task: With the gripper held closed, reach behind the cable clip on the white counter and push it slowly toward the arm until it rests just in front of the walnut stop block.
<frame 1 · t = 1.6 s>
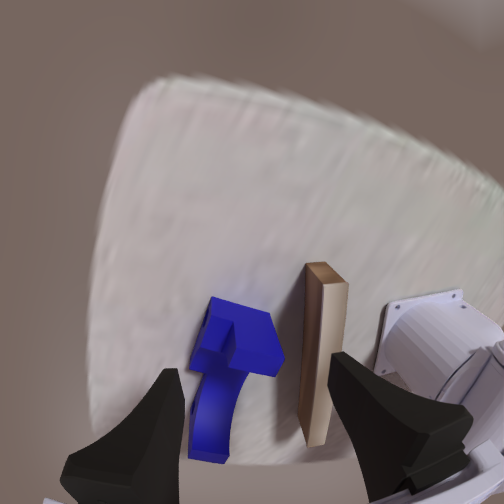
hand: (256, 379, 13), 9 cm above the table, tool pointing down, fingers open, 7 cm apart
walnut stop: (310, 352, 24), on the table
cable clip: (216, 363, 24), on the table
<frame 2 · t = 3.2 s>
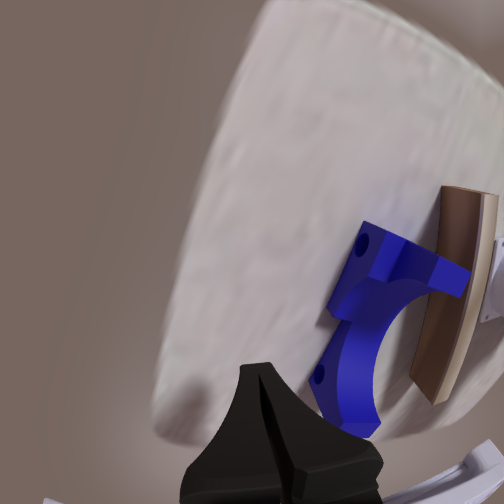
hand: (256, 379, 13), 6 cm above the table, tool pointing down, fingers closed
walnut stop: (436, 291, 19), on the table
cable clip: (352, 312, 19), on the table
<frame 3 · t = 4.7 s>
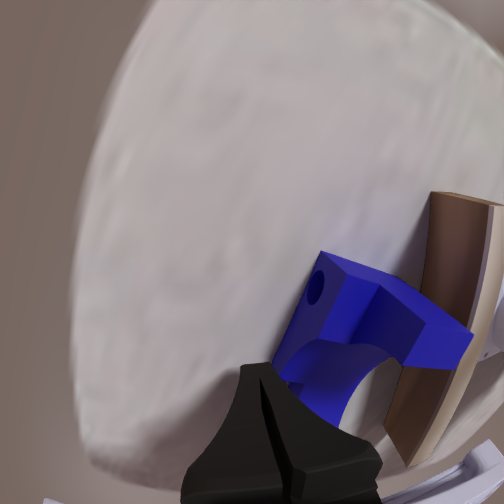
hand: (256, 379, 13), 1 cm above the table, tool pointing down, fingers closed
walnut stop: (421, 332, 15), on the table
cable clip: (309, 365, 15), on the table, touching gripper
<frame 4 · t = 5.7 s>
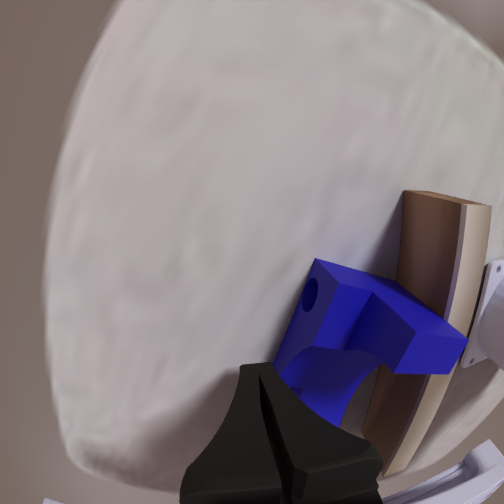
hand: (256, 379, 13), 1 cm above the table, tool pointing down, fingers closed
walnut stop: (397, 338, 15), on the table
cable clip: (308, 369, 15), on the table
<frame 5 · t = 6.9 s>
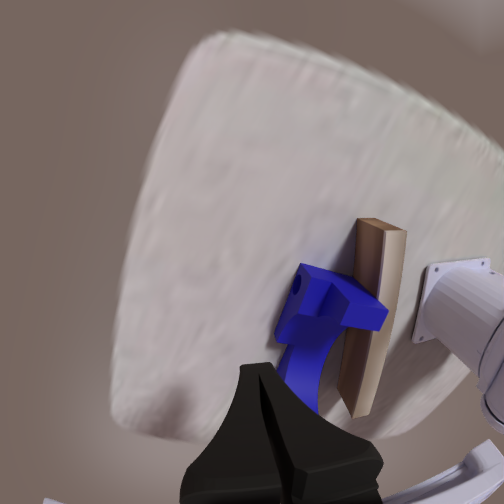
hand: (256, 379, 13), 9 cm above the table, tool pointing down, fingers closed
walnut stop: (356, 315, 23), on the table
cable clip: (298, 335, 24), on the table
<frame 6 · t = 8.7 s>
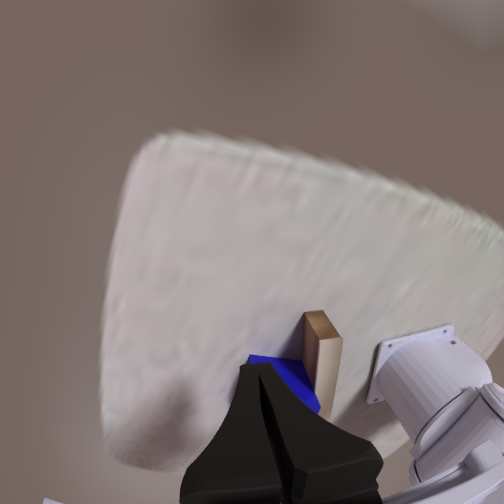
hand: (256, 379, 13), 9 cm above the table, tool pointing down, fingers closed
walnut stop: (307, 386, 25), on the table
cable clip: (257, 404, 25), on the table
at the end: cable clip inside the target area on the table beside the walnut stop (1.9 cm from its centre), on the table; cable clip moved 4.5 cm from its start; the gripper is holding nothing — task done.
